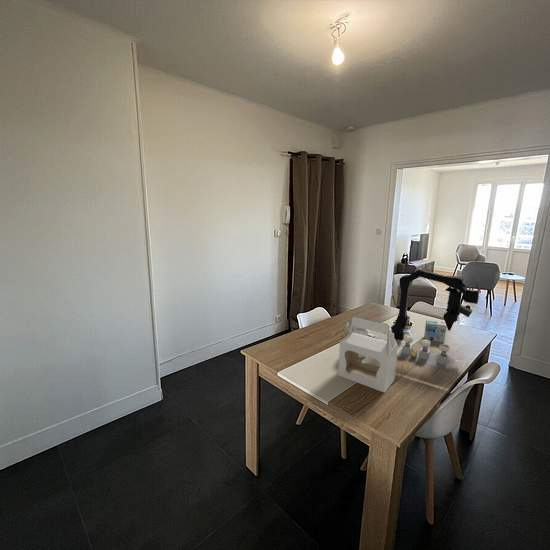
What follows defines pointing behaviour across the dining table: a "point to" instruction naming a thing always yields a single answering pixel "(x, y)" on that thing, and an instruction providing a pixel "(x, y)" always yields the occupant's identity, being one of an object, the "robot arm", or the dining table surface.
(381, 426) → the dining table surface
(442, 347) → the knob
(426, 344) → the knob mid
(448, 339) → the dining table surface
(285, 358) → the dining table surface
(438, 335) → the light bulb box
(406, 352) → the panel
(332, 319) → the dining table surface
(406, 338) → the knob
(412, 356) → the knob
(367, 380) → the gable box
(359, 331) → the milk carton
